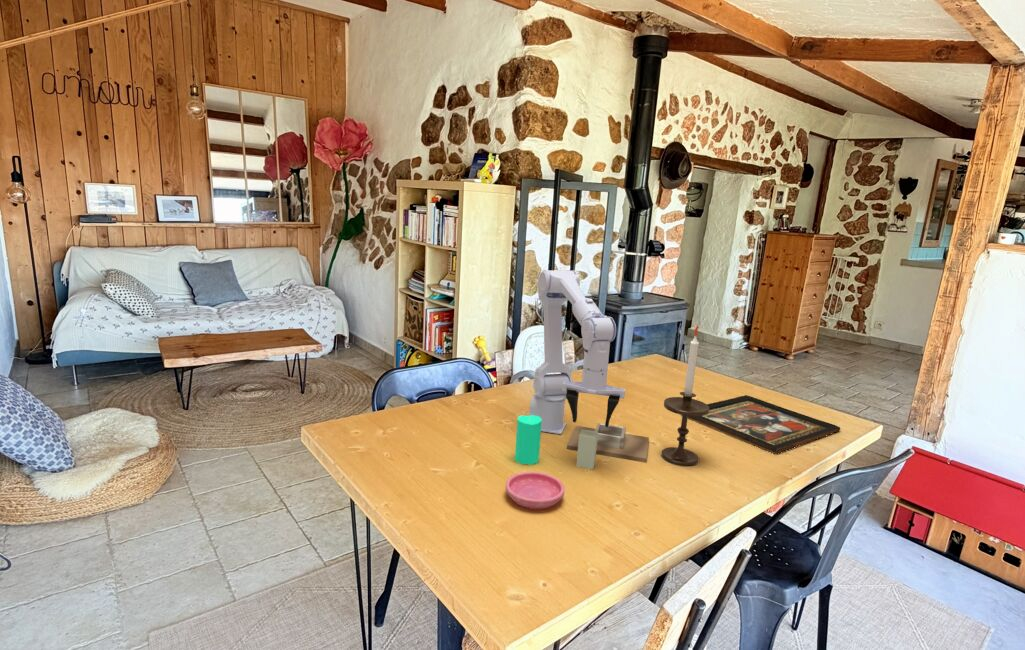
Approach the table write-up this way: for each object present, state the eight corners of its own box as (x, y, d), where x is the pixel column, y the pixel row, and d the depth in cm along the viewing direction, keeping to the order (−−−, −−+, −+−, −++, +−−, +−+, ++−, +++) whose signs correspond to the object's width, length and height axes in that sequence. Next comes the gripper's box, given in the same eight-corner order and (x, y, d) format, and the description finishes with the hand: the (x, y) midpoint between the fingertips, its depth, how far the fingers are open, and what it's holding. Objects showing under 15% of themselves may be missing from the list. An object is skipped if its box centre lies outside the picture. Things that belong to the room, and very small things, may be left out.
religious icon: (791, 462, 144) (793, 451, 144) (673, 420, 170) (674, 411, 170) (844, 431, 169) (845, 422, 169) (734, 398, 195) (735, 391, 194)
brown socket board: (566, 448, 143) (567, 434, 143) (575, 428, 157) (576, 415, 156) (646, 462, 138) (648, 447, 137) (648, 440, 152) (650, 427, 151)
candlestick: (701, 471, 135) (721, 330, 128) (655, 462, 139) (672, 324, 131) (702, 454, 145) (721, 322, 138) (659, 445, 149) (675, 317, 141)
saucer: (572, 511, 114) (573, 496, 114) (514, 517, 111) (515, 502, 110) (551, 481, 126) (552, 469, 125) (498, 486, 123) (499, 473, 122)
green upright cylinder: (542, 456, 138) (545, 411, 135) (535, 467, 132) (538, 419, 130) (519, 452, 140) (522, 406, 137) (511, 462, 134) (514, 414, 132)
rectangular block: (576, 466, 134) (579, 435, 132) (578, 459, 138) (581, 429, 136) (592, 469, 133) (595, 438, 131) (595, 462, 137) (598, 431, 135)
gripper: (561, 368, 129) (557, 424, 131) (625, 376, 125) (620, 433, 128) (566, 361, 135) (562, 414, 138) (627, 368, 132) (622, 423, 134)
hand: (590, 423), depth 133 cm, fingers open, 7 cm apart
